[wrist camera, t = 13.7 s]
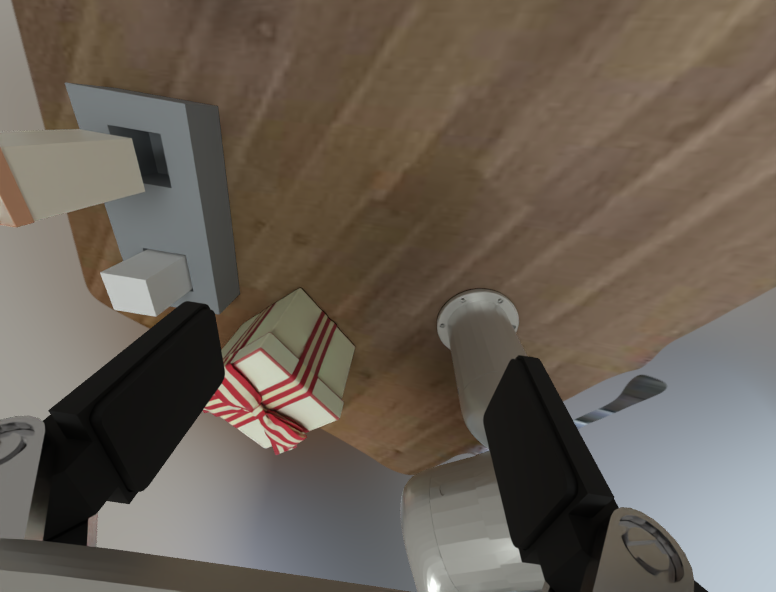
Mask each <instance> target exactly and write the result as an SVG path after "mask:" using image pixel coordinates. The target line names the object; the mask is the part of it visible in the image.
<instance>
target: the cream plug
mask: <svg viewBox="0 0 776 592" xmlns="http://www.w3.org/2000/svg"><path fill="white" fill-rule="evenodd" d="M142 192H145V188H144V184H143V181H142V177H141V173H140V169H139V165H138V161H137V157H136V153H135V149H134V145H133V141H132V138H127V137H121V136H115V135H110V134H104V133H98V132H92V131H87V130H81V129H70V130H39V131H38V130H36V131H4V132H3V131H0V225H6V226H11V227H20V226H23V225H27V224H31V223H34V221H38V220H42V219H45V218H49V217H52V216H56V215H60V214H64V213H68V212H71V211H75V210H79V209H82V208H86V207H90V206H94V205H97V204H101V203H105V202H108V201H112V200H116V199H119V198H123V197H127V196H131V195H134V194H138V193H142Z"/></svg>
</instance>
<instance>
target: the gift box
mask: <svg viewBox="0 0 776 592" xmlns="http://www.w3.org/2000/svg"><path fill="white" fill-rule="evenodd" d="M354 350H355V346H354V345H353V344H352V343H351V342H350V340H349V339H348V338H347V337H346V336H345V335H344V334H343V333H342V332H341V331H340V330H339V329H338V327H337V325H336V324H335V323H334V322H332V321H331V320H330V319H329V318H328V317H327V316H326V314H325V313H324V312H323V311H322V310H321V309H320V308H319V307H318V306H317V305H316V304H315V303H314V302H313V300H312V299H311V298H310V297H309V296H308V295H307V294H306V293H305V292H304V291H303V290H302V289H301V288H299V289H297V290H295V291H294V292H292V293H291V294H289V295H287V296H286V297H284V298H283V299H281V300H280V301H278V302H276V303H274V304H273V305H271V306H269V307H268V308H266V309H265V310H263V311H262V312H261V313H259V314H258V315H256V316H254V317H253V318H251V319H250V320H248V321H247V322H245V323H244V324H243V325H242V326H241V327H240V328H239V329H238V331H237V332H236V333H235V334H234V336H233V337H232V338H231V339H230V340H229V342H228V343H227V344H226V345H225V347H224V348H223V349H222V350H221V352H222V357H223V363H224V369H225V377H224V380H223V382H222V384H221V385H220V387H219V388H218V390H217V391H216V392H215V394H214V395H213V397H212V398H211V399H210V401H209V402H208V404H207V405H206V406H205V408H204V409H203V412H204V413H207V412H210V413H212V414H213V415H214V416H220V417H222V418H223V419H224V420H226V421H227V422H228V423H230V424H231V425H233V426H234V427H236V428H237V429H239V430H240V431H241V432H243V433H244V434H245V435H247V436H248V437H250V438H251V439H252V440H254V441H255V442H257V443H258V444H259V445H261V446H262V447H264V448H268V447H271V446H272V447H273V449H274V452H275V455H278V454H280V453H282V452H285V451H288V450H291V449H294V448H297V445H296V444H298V443H299V442H301V441H303V440H304V439H306V438H307V436H306V435H305V434H304V433H306V432H309V431H311V430H313V429H316V428H319V427H321V426H323V425H326V424H328V423H331V422H334V421H336V420H338V419H340V415H341V411H342V408H343V404H344V401H343V400H342V396H343V392H344V389H345V384H346V381H347V377H348V373H349V369H350V365H351V361H352V357H353V354H354Z"/></svg>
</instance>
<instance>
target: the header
mask: <svg viewBox="0 0 776 592" xmlns="http://www.w3.org/2000/svg"><path fill="white" fill-rule="evenodd" d="M65 85H66V88H67V91H68V94H69V98H70V101H71V104H72V107H73V110H74V113H75V116H76V119H77V122H78V125H79V128H80V129H81V130H87V131H92V132H98V133H104V134H110V135H115V136H121V137H127V138H132V141H133V145H134V149H135V153H136V157H137V161H138V165H139V169H140V173H141V177H142V181H143V184H144V188H145V192H142V193H138V194H134V195H131V196H127V197H123V198H119V199H116V200H112V201H108V202H105V203H104V204H105V207H106V210H107V213H108V216H109V219H110V222H111V225H112V228H113V231H114V234H115V237H116V240H117V243H118V246H119V249H120V252H121V255H122V258H123V262H121V263H119V264H117V265H115V266H113V267H111V268H109V269H107V270H104V271H102V272H100V274H101V276H102V279H103V282H104V284H105V287H106V289H107V292H108V295H109V297H110V300H111V302H112V305H113V308H114V310H119V311H125V312H131V313H137V314H144V315H150V316H158V315H159V314H160V313H161V312H163V311H164V310H165V309H167V308H168V307H169V306H171V307H178V306H179V305H181V304H182V303H183V302H185V301H191V302H197V303H203V304H207V305H208V306H209V307H210V309H211V310H213V311H214V313H215V314H220V313H221V312H222V311H223V310H224V309H225V308H226V307H227V306H228V305H229V304H230V303H231V302H232V301H233V300H234V299H235V298H236V297H237V296H238V295H239V294H240V290H239V282H238V273H237V265H236V256H235V248H234V240H233V231H232V223H231V214H230V206H229V197H228V189H227V180H226V172H225V163H224V155H223V146H222V138H221V129H220V121H219V112H218V106H214V105H208V104H203V103H197V102H191V101H186V100H180V99H175V98H169V97H163V96H158V95H152V94H146V93H141V92H135V91H129V90H124V89H118V88H111V87H101V86H92V85H83V84H74V83H65Z"/></svg>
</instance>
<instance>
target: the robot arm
mask: <svg viewBox="0 0 776 592" xmlns="http://www.w3.org/2000/svg"><path fill="white" fill-rule="evenodd" d="M461 298H462V299H461ZM518 325H519V316H518V313H517V310H516V308H515V306H514V304H513V303H512V302H511V301H510V299H508V298H507V297H506V296H505V295H503V294H501V293H499V292H497V291H493V290H488V289H473V290H469V291H465V292H463V293H460V294H458V295H456V296H455V297H453V298H451V299H450V300H449V301H448V302H447V303H446V304H445V305H444V306H443V308H442V309H441V311H440V313H439V315H438V319H437V331H438V335H439V338H440V340H441V341H442V343H443V344H444V345H445V346H446V347H447V348H448V349H450V350H451V355H452V360H453V366H454V372H455V378H456V383H457V389H458V395H459V401H460V407H461V412H462V416H463V419H464V422H465V424H466V426H467V427H468V429H469V431H470V432H471V433H472V435H473V436H474V437H475V438H476V439H477V440H478V441H479V442H480V443H482V444H483V445H484V446H485V447H486V448H488V449H489V450H490V451H487V452H484V453H481V454H478V455H476V456H474V457H470V458H466V459H463V460H459V461H455V462H451V463H447V464H444V465H440V466H437V467H433V468H430V469H427V470H424V471H421V472H419V473H417V474H416V475H414V476H413V477H412V478H411V479H410V480H409V481H408V482H407V484H406V485H405V487H404V490H403V493H402V497H401V505H400V513H401V514H400V515H401V527H402V533H403V538H404V544H405V548H406V552H407V556H408V560H409V563H410V567H411V570H412V573H413V578H414V581H415V584H416V588H417V591H418V592H708V591H707V590H705V589H704V588H703V587H701V585H699V584H698V583H697V582H696V581H694V578H693V572H692V567H691V565H690V563H689V561H688V559H687V557H686V555H685V553H684V552H683V550H682V549H681V547H680V546H679V544H678V543H677V542H676V541H675V539H674V538H673V537H672V536H671V535H670V534H669V533H668V532H667V531H666V530H665V529H664V528H663V527H662V526H661V525H659V524H658V523H657V522H656V521H655V520H654V519H652V518H650V517H649V516H647V515H645V514H644V513H642V512H640V511H637V510H634V509H632V508H624V507H621V508H618V506H617V504H616V502H615V500H614V496H613V494H612V493H611V490H610V488H609V487H608V485H607V483H606V481H605V479H604V477H603V476H602V474H601V472H600V470H599V468H598V466H597V464H596V462H595V461H594V459H593V457H592V455H591V453H590V451H589V450H588V448H587V446H586V444H585V442H584V440H583V438H582V437H581V435H580V433H579V431H578V429H577V427H576V425H575V424H574V422H573V420H572V418H571V416H570V414H569V413H568V411H567V409H566V407H565V405H564V403H563V401H562V399H561V398H560V396H559V394H558V392H557V390H556V388H555V386H554V385H553V383H552V381H551V379H550V377H549V375H548V374H547V372H546V370H545V368H544V366H543V364H542V362H541V361H540V360H539V359H538V358H534V357H528V356H527V354H526V352H525V350H524V348H523V346H522V344H521V342H520V340H519V338H518V336H517V334H516V332H517V329H518ZM224 377H225V369H224V363H223V357H222V352H221V346H220V340H219V335H218V329H217V323H216V317H215V313H214V311H213V310H211V309H210V307H209V306H208V305H207V304H203V303H197V302H191V301H185V302H183V303H182V304H181V305H179V306H178V307H177V308H176V309H174V310H173V311H172V312H171V313H169V314H168V315H167V316H166V317H164V318H163V319H162V320H161V321H159V322H158V323H157V324H156V325H154V326H153V327H152V328H151V329H149V330H148V331H147V332H146V333H144V334H143V335H142V336H141V337H139V338H138V339H137V340H136V341H134V342H133V343H132V344H131V345H129V346H128V347H127V348H126V349H124V350H123V351H122V352H121V353H119V354H118V355H117V356H116V357H114V358H113V359H112V360H111V361H110V362H108V363H107V364H106V365H105V366H103V367H102V368H101V369H100V370H98V371H97V372H96V373H94V374H93V375H92V376H91V377H90V378H88V379H87V380H86V381H85V382H83V383H82V384H81V385H79V386H78V387H77V388H76V389H75V390H73V391H72V392H71V393H70V394H69V395H67V396H66V397H65V398H64V399H62V400H61V401H60V402H58V403H57V404H56V405H55V406H53V407H52V408H51V409H50V410H49V412H50V414H51V415H50V416H48V417H47V418H46V419H45V420H43V421H41V420H40V419H39V418H36V417H32V416H15V417H10V418H6V419H1V420H0V592H409V591H402V590H395V589H388V588H382V587H376V586H369V585H361V584H355V583H347V582H341V581H334V580H327V579H320V578H313V577H307V576H300V575H293V574H286V573H279V572H272V571H265V570H258V569H251V568H244V567H237V566H229V565H223V564H216V563H209V562H201V561H194V560H187V559H179V558H173V557H165V556H158V555H151V554H144V553H137V552H130V551H123V550H115V549H107V548H98V547H96V543H97V518H98V511H99V510H100V509H101V507H102V506H103V505H104V504H105V502H106V501H112V502H118V503H126V504H130V502H131V501H132V500H133V498H134V497H135V495H136V494H137V493H138V492H141V491H143V490H144V489H145V488H147V487H148V486H149V484H150V483H151V482H152V480H153V479H154V477H155V476H156V475H157V473H158V472H159V470H160V469H161V468H162V466H163V465H164V464H165V462H166V461H167V459H168V458H169V457H170V455H171V454H172V452H173V451H174V449H175V448H176V446H177V445H178V444H179V443H180V441H181V440H182V438H183V437H184V436H185V434H186V433H187V431H188V430H189V428H190V427H191V426H192V424H193V423H194V422H195V420H196V419H197V417H198V416H199V415H200V413H201V412H202V410H203V409H204V408H205V406H206V405H207V404H208V402H209V401H210V399H211V398H212V397H213V395H214V394H215V392H216V391H217V390H218V388H219V387H220V385H221V384H222V382H223V380H224Z"/></svg>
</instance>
